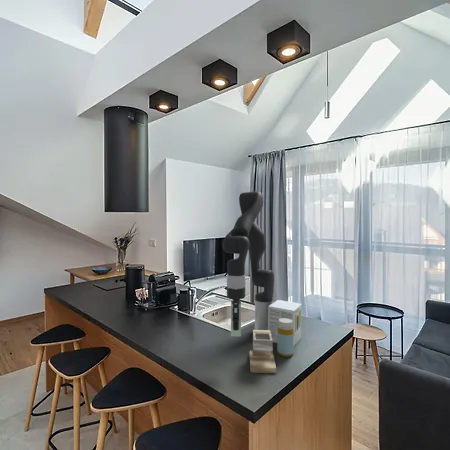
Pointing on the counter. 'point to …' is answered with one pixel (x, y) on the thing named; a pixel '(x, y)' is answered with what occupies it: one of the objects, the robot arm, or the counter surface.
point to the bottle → (285, 337)
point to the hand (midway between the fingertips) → (236, 327)
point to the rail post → (238, 332)
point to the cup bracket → (262, 352)
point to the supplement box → (284, 311)
